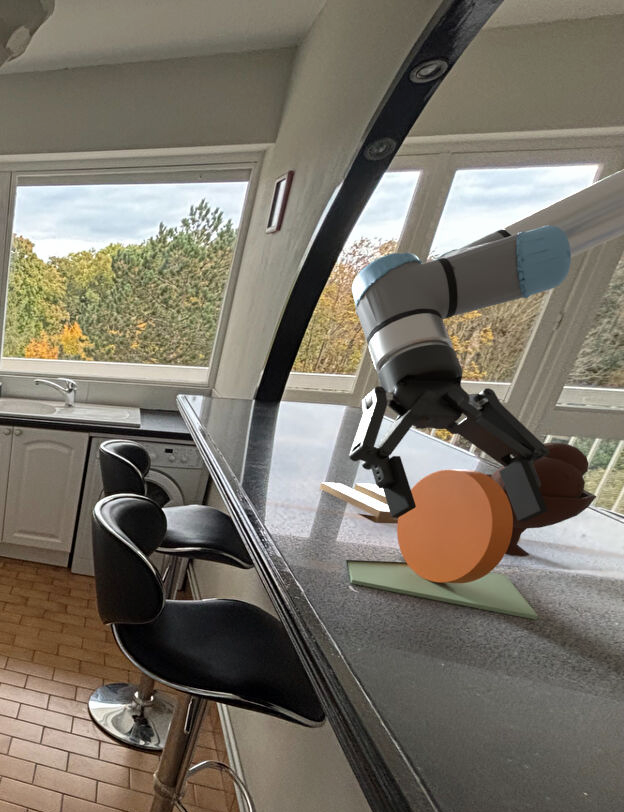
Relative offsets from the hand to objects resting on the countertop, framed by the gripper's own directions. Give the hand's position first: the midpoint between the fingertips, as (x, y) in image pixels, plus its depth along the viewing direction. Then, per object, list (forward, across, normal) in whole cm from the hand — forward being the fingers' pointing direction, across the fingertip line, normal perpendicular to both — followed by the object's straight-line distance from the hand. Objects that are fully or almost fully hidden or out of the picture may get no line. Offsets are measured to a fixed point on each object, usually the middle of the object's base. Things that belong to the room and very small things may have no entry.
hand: (468, 514), depth 65 cm
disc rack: (-13, -10, -26) cm, 31 cm away
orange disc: (+5, 0, -7) cm, 9 cm away
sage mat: (+5, 0, -7) cm, 9 cm away
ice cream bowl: (-1, -16, -14) cm, 22 cm away
